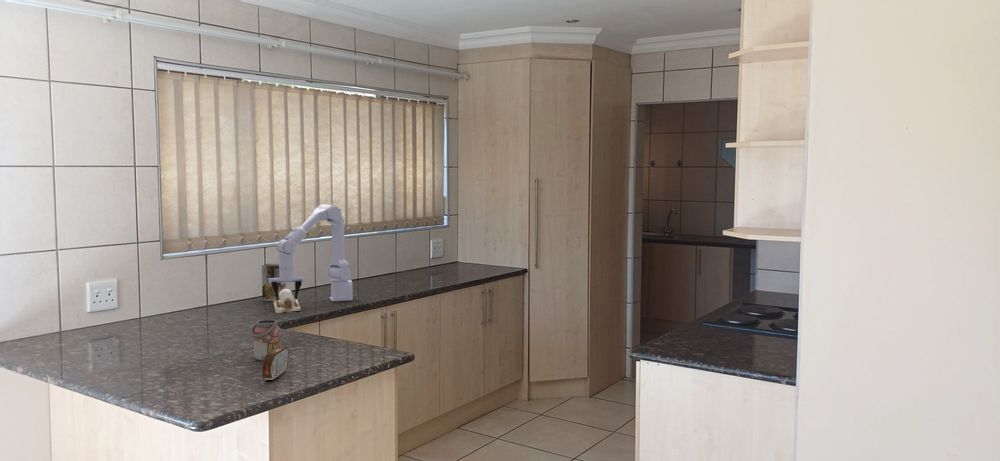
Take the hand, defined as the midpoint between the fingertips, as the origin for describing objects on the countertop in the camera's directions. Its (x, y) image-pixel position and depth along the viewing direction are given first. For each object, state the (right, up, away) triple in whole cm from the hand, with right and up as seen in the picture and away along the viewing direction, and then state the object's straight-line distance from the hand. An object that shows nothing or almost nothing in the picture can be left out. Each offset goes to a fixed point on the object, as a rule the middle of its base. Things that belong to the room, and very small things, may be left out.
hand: (286, 299), depth 314 cm
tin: (+25, -14, -97) cm, 102 cm away
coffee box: (-10, -2, +17) cm, 20 cm away
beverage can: (+16, -12, -78) cm, 81 cm away
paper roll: (0, -2, 0) cm, 2 cm away
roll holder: (0, -4, 0) cm, 4 cm away
